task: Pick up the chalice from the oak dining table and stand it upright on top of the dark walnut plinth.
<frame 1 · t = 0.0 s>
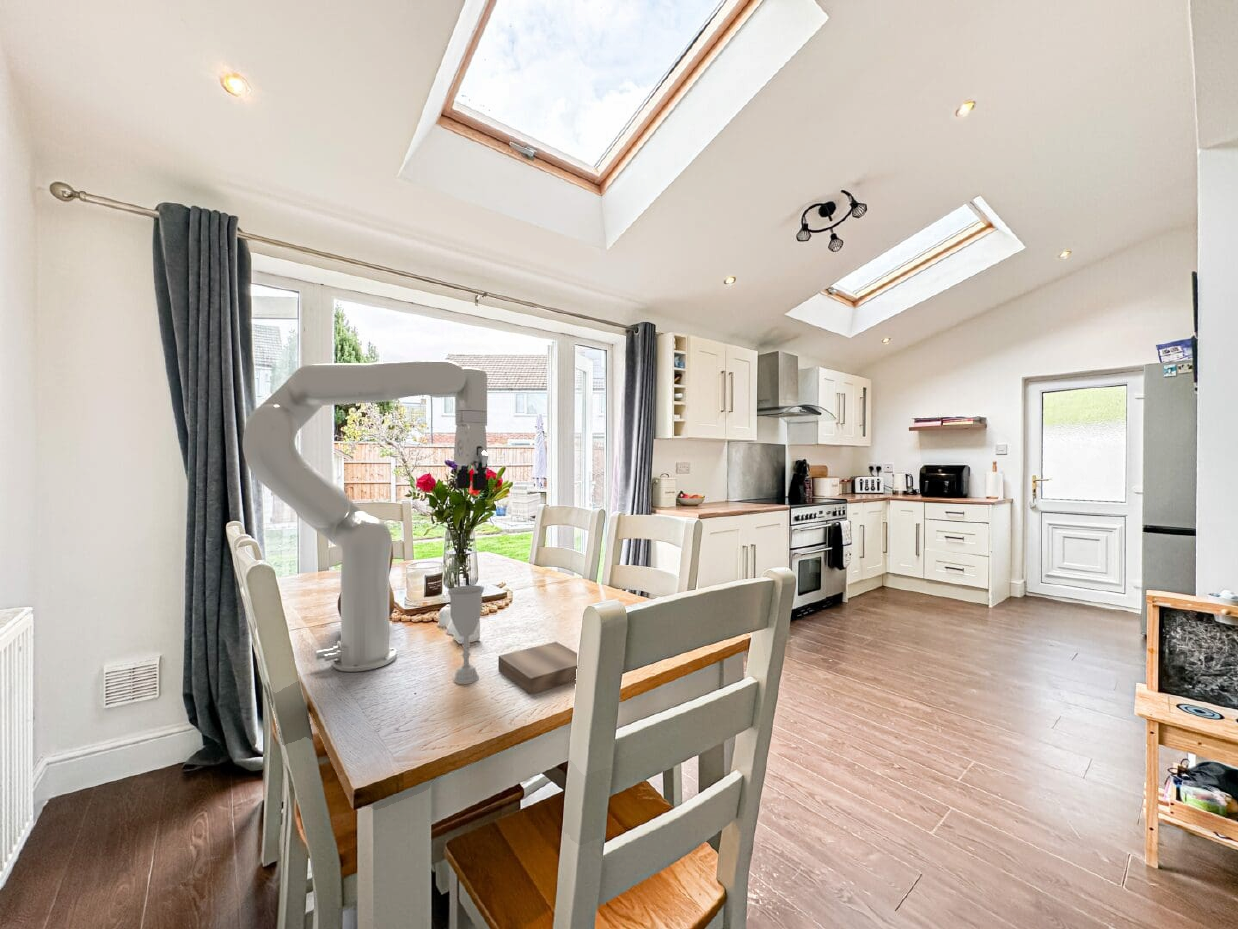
hand: (471, 489, 128), 37 cm above the table, tool pointing down, fingers open, 9 cm apart
chalice: (466, 679, 105), on the table
walnut plinth: (544, 672, 108), on the table
container set: (456, 633, 133), on the table
butternut squash: (366, 629, 135), on the table
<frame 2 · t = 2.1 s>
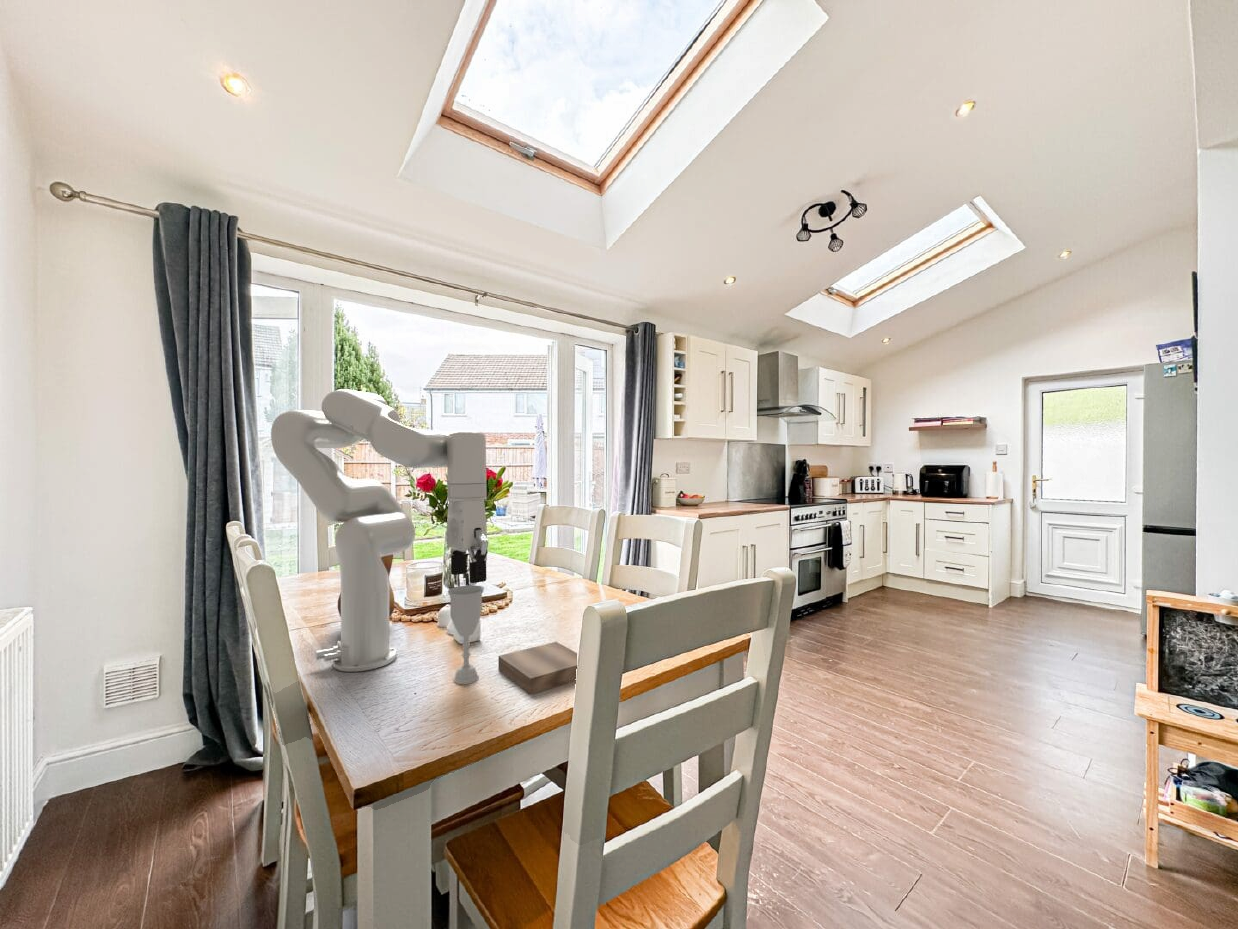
hand: (468, 577, 104), 20 cm above the table, tool pointing down, fingers open, 9 cm apart
nothing on the table moved.
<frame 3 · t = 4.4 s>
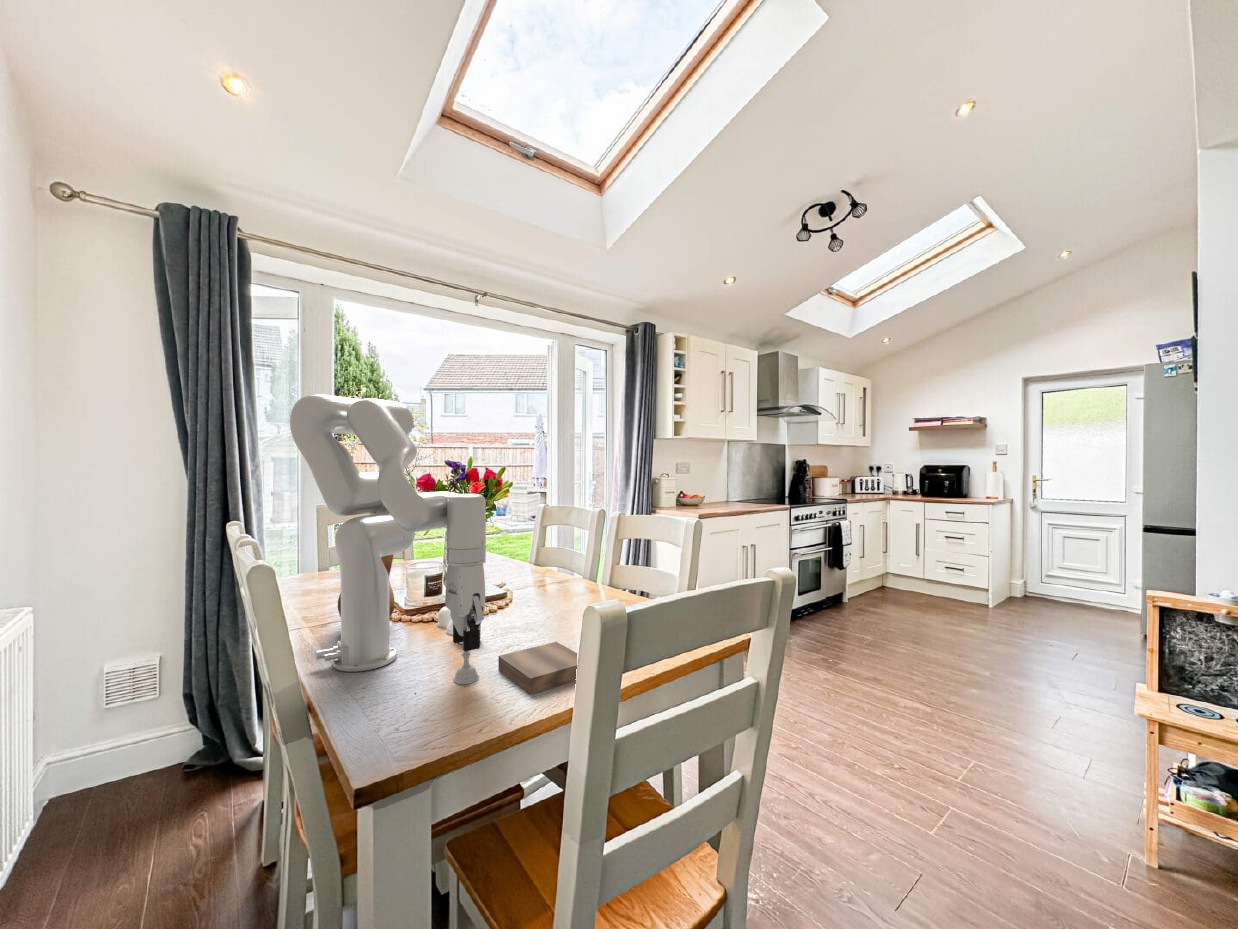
hand: (466, 644, 105), 7 cm above the table, tool pointing down, fingers closed on chalice, 4 cm apart
chalice: (466, 679, 105), on the table, touching gripper
everything else where it was.
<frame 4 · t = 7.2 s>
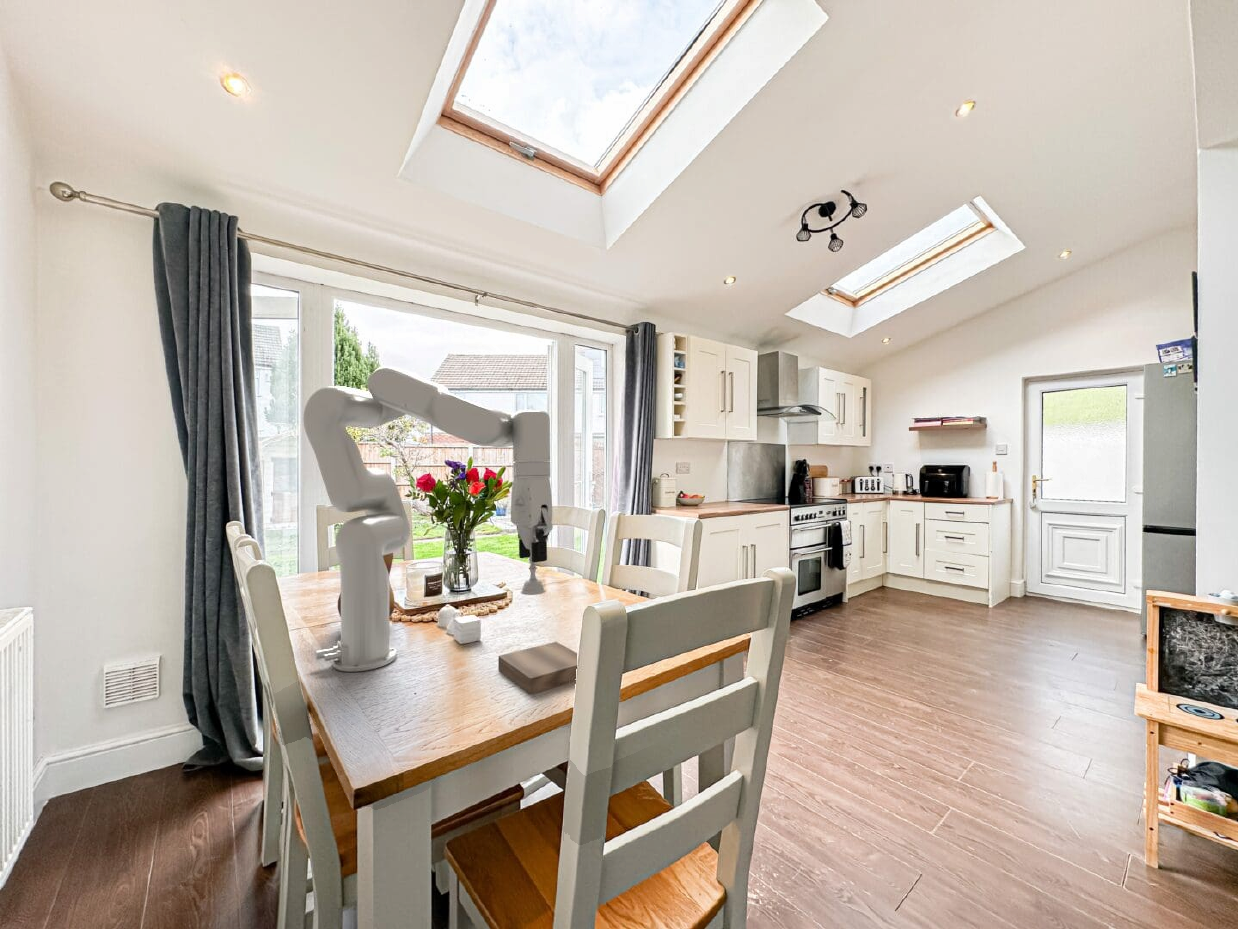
hand: (532, 558, 107), 24 cm above the table, tool pointing down, fingers closed on chalice, 4 cm apart
chalice: (533, 592, 107), point 17 cm above the table, touching gripper
everything else where it was.
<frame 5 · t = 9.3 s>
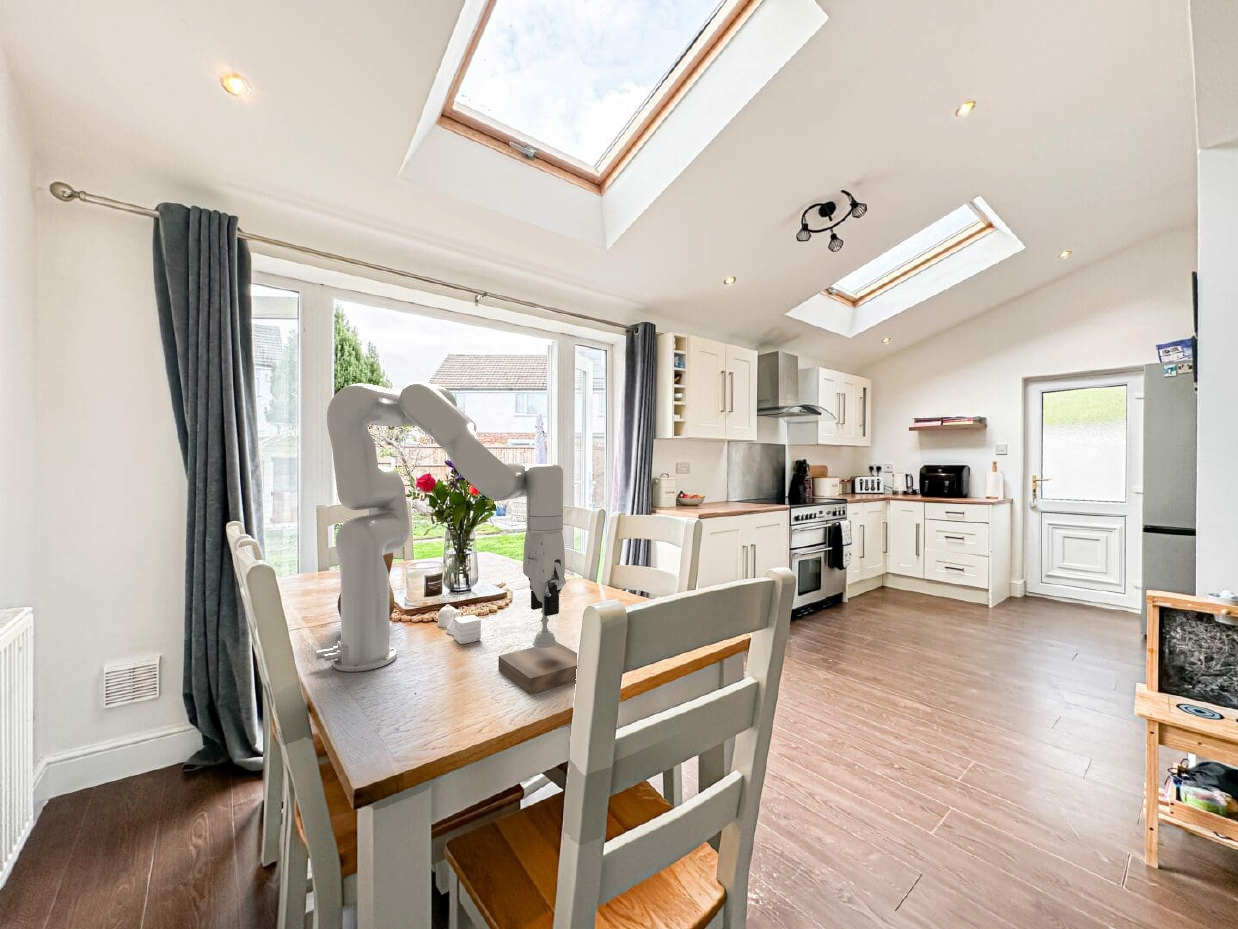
hand: (544, 610, 108), 13 cm above the table, tool pointing down, fingers closed on chalice, 4 cm apart
chalice: (544, 644, 108), point 6 cm above the table, touching gripper
everything else where it was.
when the fingers open (11 cm above the table, at t = 10.5 s): chalice drops 1 cm, resting on walnut plinth.
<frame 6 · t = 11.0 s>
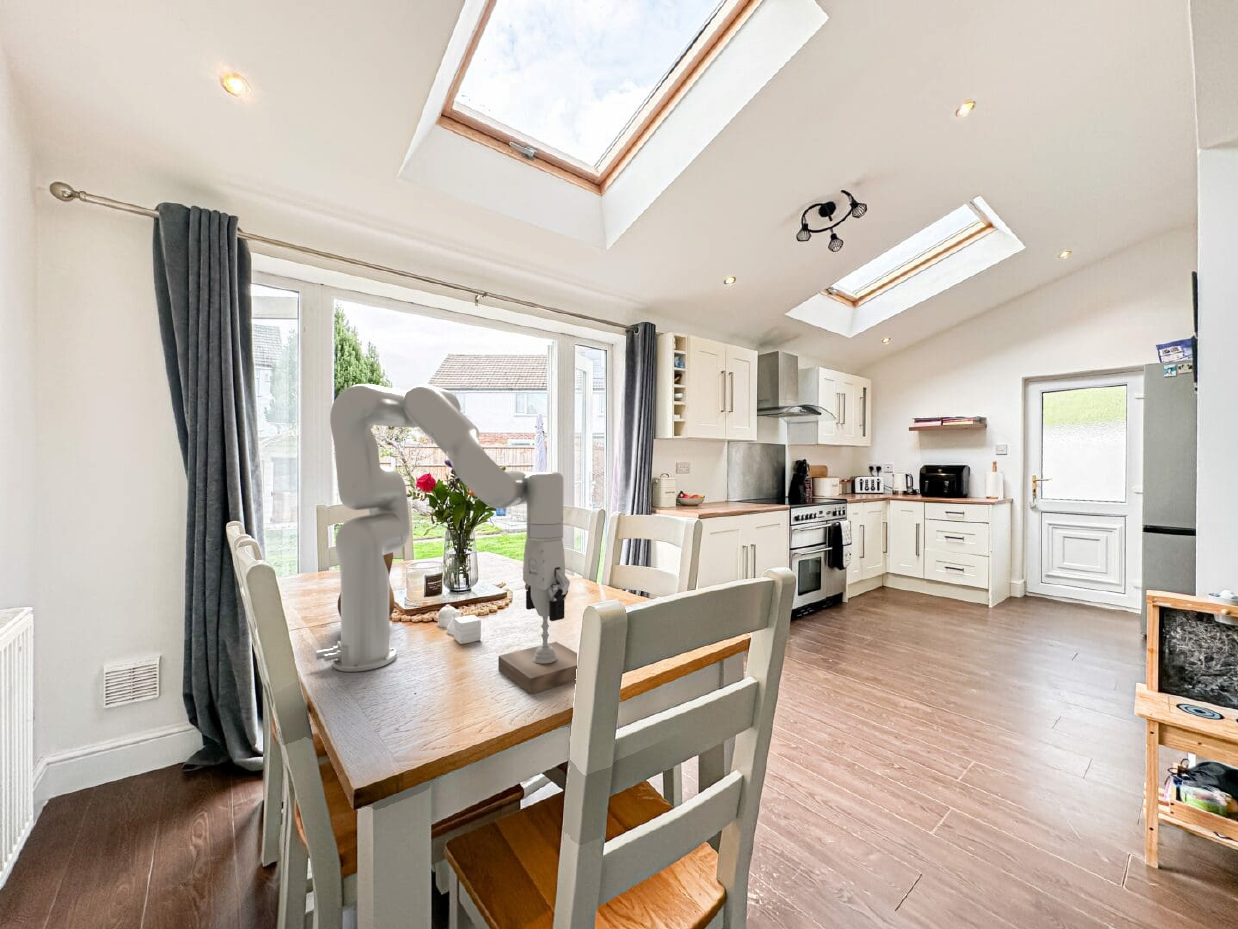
hand: (544, 613, 108), 12 cm above the table, tool pointing down, fingers open, 9 cm apart
chalice: (545, 660, 107), point 3 cm above the table, touching walnut plinth
everything else where it was.
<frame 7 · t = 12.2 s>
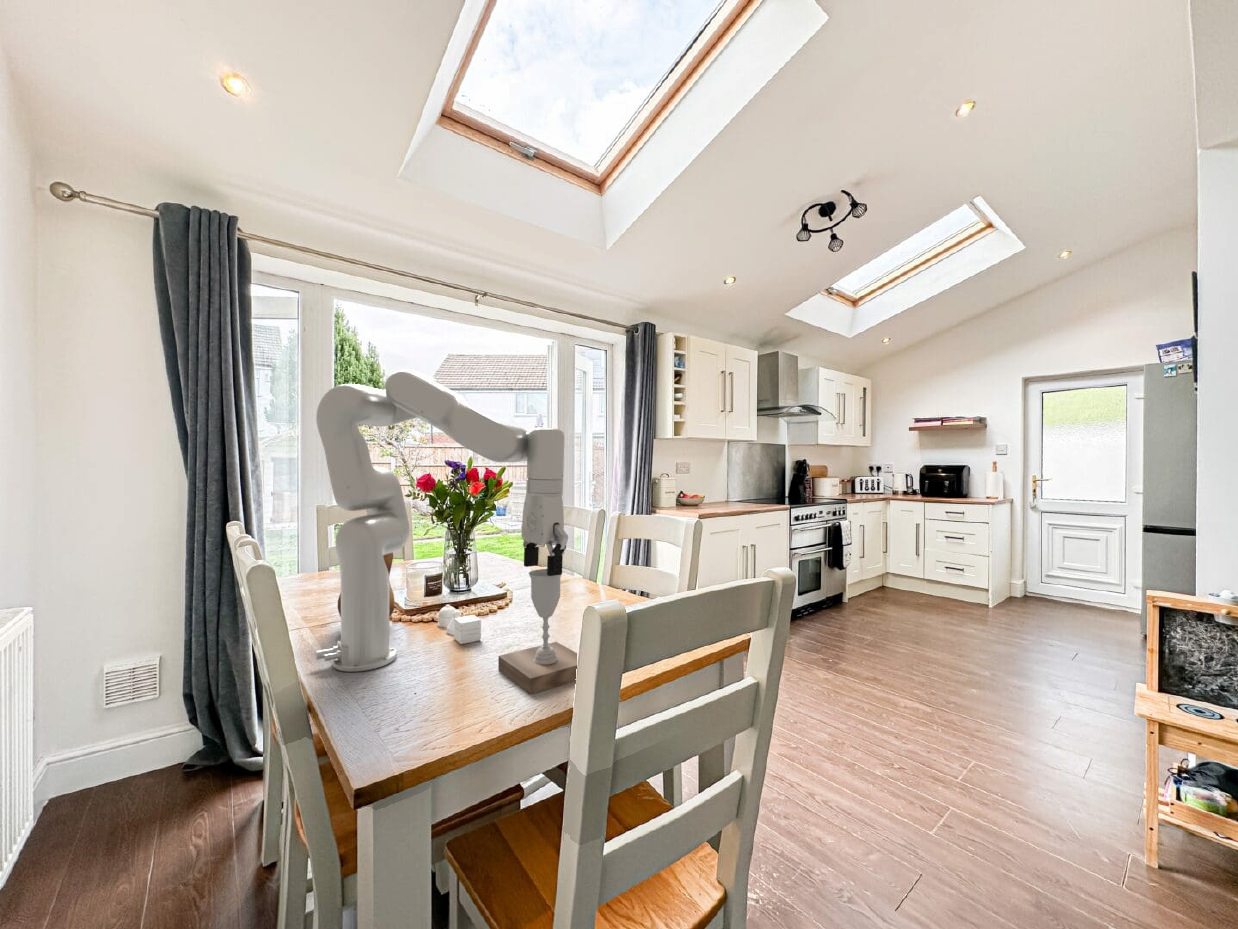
hand: (542, 570, 108), 21 cm above the table, tool pointing down, fingers open, 9 cm apart
nothing on the table moved.
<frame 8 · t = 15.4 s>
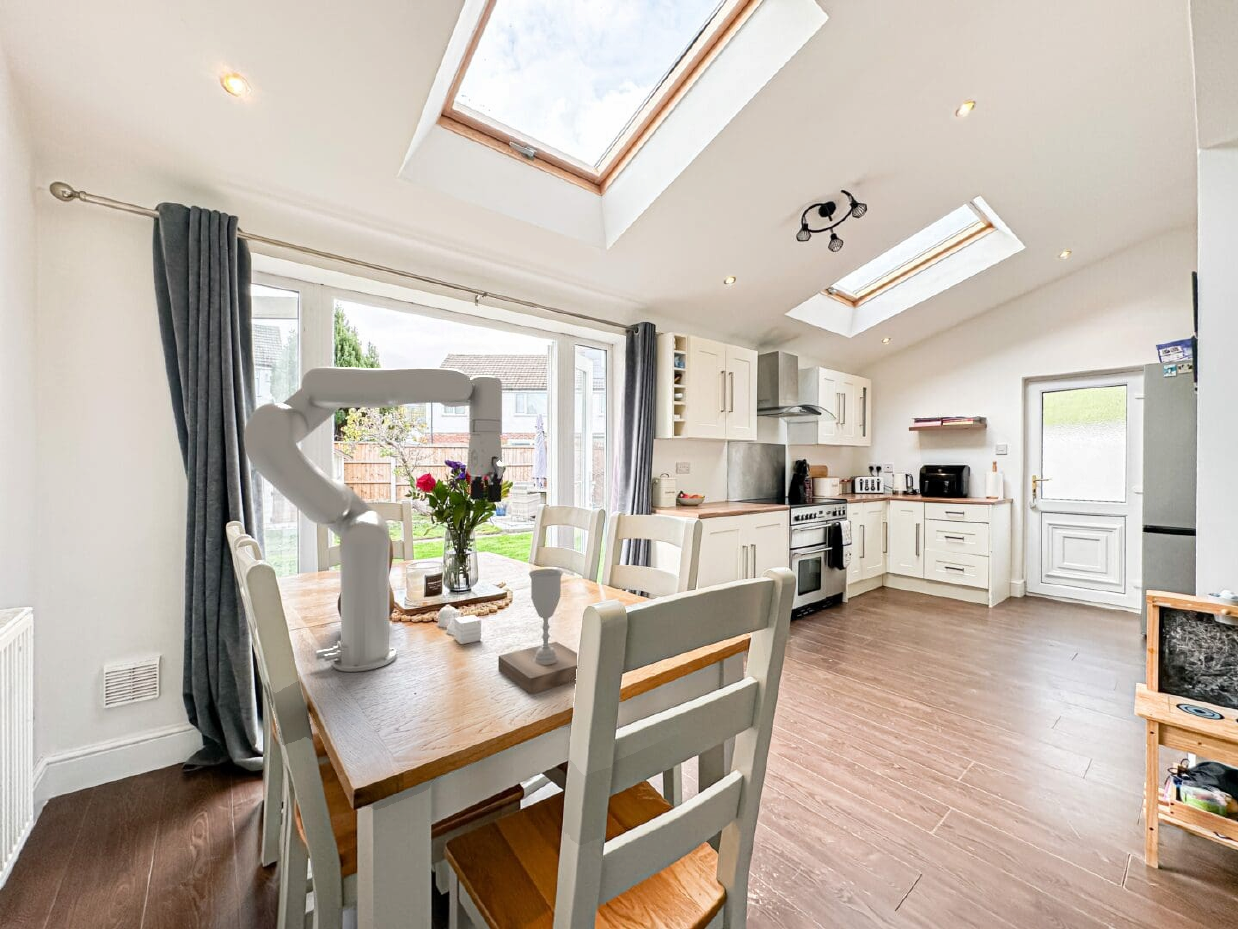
hand: (485, 500, 124), 34 cm above the table, tool pointing down, fingers open, 9 cm apart
nothing on the table moved.
at the end: chalice inside the target area on the walnut plinth (0.8 cm from its centre), point 2.8 cm above the walnut plinth's base; chalice tilted 0°; the gripper is holding nothing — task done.
